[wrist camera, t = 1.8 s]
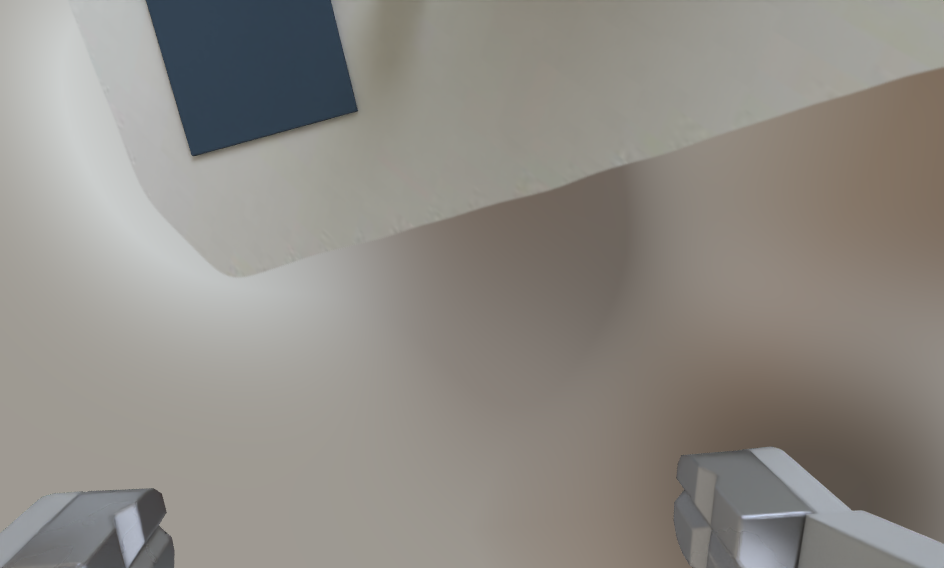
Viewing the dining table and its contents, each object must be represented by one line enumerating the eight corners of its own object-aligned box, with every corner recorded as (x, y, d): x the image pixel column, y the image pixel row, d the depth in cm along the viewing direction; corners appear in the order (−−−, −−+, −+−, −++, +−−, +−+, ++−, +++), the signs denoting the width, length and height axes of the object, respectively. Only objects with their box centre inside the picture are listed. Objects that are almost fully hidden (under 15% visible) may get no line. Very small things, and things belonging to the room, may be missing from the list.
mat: (125, -80, 44) (121, -82, 44) (294, -145, 41) (292, -148, 41) (194, 156, 47) (191, 155, 47) (358, 111, 44) (356, 110, 44)
